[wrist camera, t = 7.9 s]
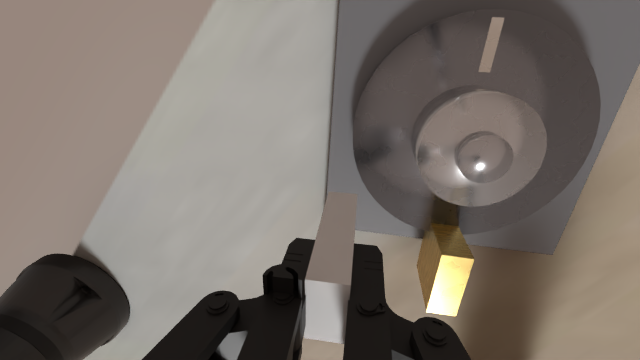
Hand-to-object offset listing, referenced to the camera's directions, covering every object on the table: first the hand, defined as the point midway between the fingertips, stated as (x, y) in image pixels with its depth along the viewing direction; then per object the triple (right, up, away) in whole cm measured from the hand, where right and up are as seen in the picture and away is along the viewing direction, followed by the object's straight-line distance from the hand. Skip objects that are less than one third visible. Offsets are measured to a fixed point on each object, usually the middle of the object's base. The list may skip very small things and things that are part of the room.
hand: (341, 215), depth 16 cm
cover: (+10, +5, +8) cm, 14 cm away
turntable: (+11, +4, +10) cm, 15 cm away
